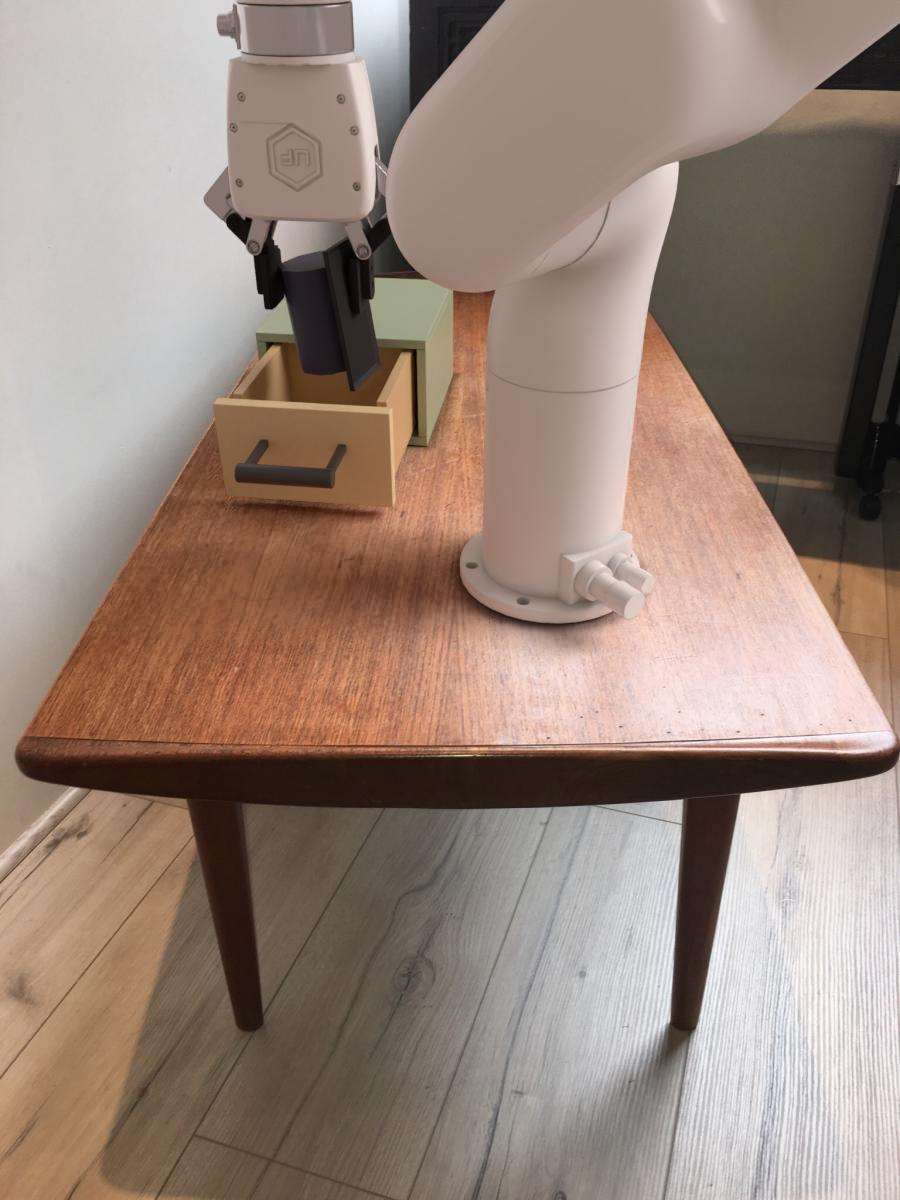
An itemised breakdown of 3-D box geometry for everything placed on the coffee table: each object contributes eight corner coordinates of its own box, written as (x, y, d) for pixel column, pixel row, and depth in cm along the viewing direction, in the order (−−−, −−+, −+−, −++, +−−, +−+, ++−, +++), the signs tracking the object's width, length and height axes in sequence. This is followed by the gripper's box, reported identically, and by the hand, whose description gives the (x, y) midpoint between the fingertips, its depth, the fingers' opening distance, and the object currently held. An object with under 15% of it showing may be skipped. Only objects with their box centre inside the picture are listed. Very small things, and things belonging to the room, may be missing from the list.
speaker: (404, 367, 78) (385, 231, 73) (353, 393, 75) (330, 252, 69) (336, 353, 83) (313, 224, 77) (285, 377, 79) (258, 244, 73)
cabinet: (427, 446, 87) (425, 340, 82) (267, 436, 89) (255, 332, 84) (453, 375, 101) (453, 280, 96) (313, 368, 103) (305, 274, 97)
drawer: (378, 546, 72) (373, 448, 67) (200, 533, 73) (184, 436, 69) (425, 424, 89) (423, 339, 85) (280, 415, 91) (271, 332, 86)
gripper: (149, 38, 63) (191, 317, 73) (416, 42, 61) (421, 328, 71) (190, 27, 69) (224, 286, 80) (435, 31, 67) (436, 295, 78)
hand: (317, 303), depth 75 cm, fingers closed on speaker, 6 cm apart
